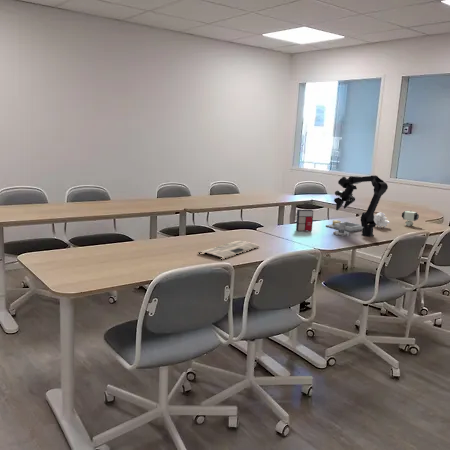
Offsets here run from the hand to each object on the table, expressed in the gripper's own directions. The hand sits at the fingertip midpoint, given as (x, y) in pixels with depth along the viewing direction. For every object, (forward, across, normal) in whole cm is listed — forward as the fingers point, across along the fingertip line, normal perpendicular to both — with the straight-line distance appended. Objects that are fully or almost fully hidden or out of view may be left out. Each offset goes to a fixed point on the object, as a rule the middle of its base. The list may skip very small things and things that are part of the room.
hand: (340, 209), depth 346 cm
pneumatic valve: (+6, -55, +31) cm, 63 cm away
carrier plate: (+11, 0, +10) cm, 14 cm away
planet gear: (+5, +20, +19) cm, 28 cm away
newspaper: (+3, +115, +7) cm, 116 cm away
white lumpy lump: (+7, -27, +23) cm, 36 cm away
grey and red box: (+13, +34, -1) cm, 36 cm away
